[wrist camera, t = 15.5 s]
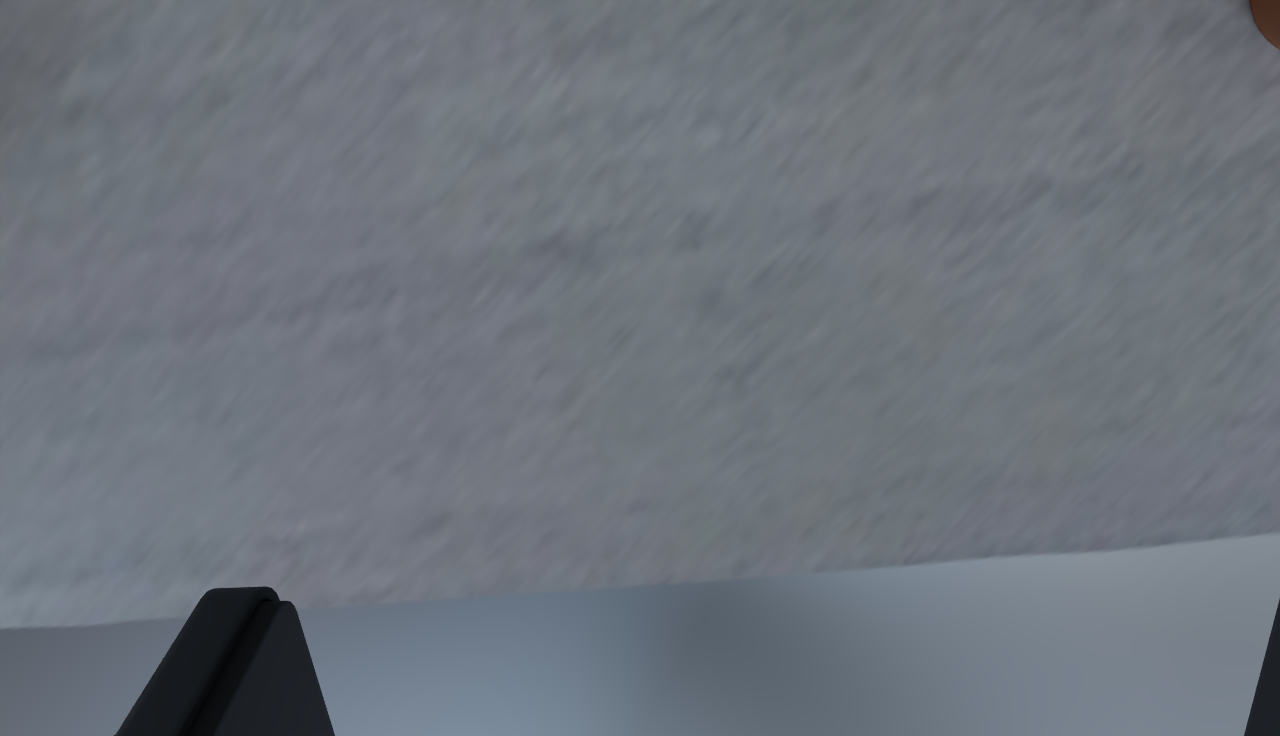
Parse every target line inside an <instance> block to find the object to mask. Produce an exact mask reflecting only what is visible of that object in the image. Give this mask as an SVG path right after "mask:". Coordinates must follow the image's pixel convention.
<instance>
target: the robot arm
mask: <svg viewBox="0 0 1280 736" xmlns="http://www.w3.org/2000/svg"><path fill="white" fill-rule="evenodd" d="M114 736H335V734H334V731H333V728H332V725H331V721H330V718H329V715H328V712H327V708H326V705H325V702H324V698H323V695H322V692H321V689H320V685H319V682H318V679H317V676H316V672H315V669H314V666H313V663H312V659H311V656H310V653H309V650H308V646H307V643H306V640H305V637H304V633H303V630H302V627H301V623H300V620H299V617H298V614H297V611H296V609H295V606H294V605H293V604H292V603H291V602H290V601H280V600H279V597H278V595H277V593H276V592H275V591H274V590H273V589H272V588H270V587H242V588H214V589H211V590H209V591H207V592H206V593H205V594H204V596H203V597H202V598H201V599H200V601H199V602H198V604H197V606H196V607H195V609H194V610H193V612H192V614H191V615H190V617H189V618H188V620H187V622H186V623H185V625H184V626H183V628H182V630H181V631H180V633H179V635H178V636H177V638H176V639H175V641H174V642H173V644H172V646H171V648H170V649H169V650H168V652H167V654H166V655H165V657H164V658H163V660H162V662H161V663H160V665H159V666H158V668H157V670H156V671H155V673H154V674H153V676H152V677H151V679H150V681H149V683H148V684H147V685H146V687H145V689H144V690H143V692H142V694H141V695H140V697H139V698H138V700H137V702H136V703H135V705H134V706H133V708H132V709H131V711H130V713H129V714H128V716H127V717H126V719H125V721H124V722H123V724H122V726H121V727H120V729H119V730H118V732H117V734H116V735H114ZM1244 736H1280V600H1279V604H1278V608H1277V611H1276V615H1275V619H1274V623H1273V627H1272V631H1271V634H1270V638H1269V642H1268V646H1267V650H1266V654H1265V658H1264V661H1263V665H1262V669H1261V673H1260V677H1259V681H1258V684H1257V688H1256V692H1255V696H1254V700H1253V704H1252V707H1251V712H1250V715H1249V719H1248V723H1247V727H1246V731H1245V735H1244Z"/></svg>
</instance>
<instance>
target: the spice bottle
mask: <svg viewBox="0 0 1280 736" xmlns="http://www.w3.org/2000/svg"><path fill="white" fill-rule="evenodd" d="M1251 6H1252V12H1253V15H1254V19H1255V22H1256V24H1257V26H1258V28H1259V30H1260V31H1261V33H1262V34H1263V35H1264V37H1265V38H1266V39H1267V40H1268V41H1269V42H1270V43H1271V44H1272V45H1274V46H1275V47H1277V48H1278V49H1280V0H1251Z"/></svg>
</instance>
